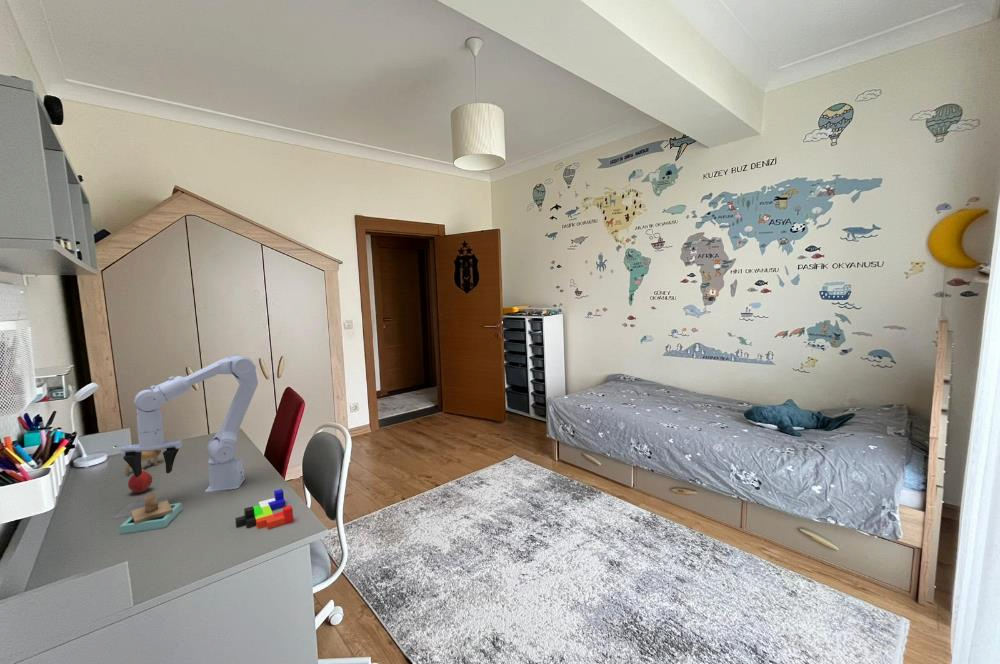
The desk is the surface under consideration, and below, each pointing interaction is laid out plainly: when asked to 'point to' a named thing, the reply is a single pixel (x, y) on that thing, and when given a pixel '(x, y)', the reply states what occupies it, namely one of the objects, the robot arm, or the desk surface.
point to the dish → (150, 522)
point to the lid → (151, 509)
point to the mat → (132, 508)
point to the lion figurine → (146, 458)
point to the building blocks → (267, 513)
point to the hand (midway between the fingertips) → (154, 473)
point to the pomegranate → (140, 482)
